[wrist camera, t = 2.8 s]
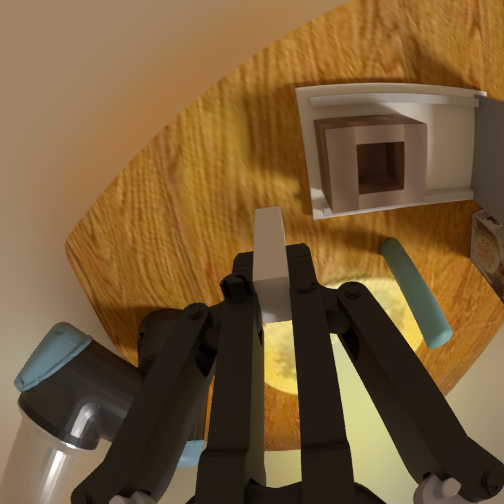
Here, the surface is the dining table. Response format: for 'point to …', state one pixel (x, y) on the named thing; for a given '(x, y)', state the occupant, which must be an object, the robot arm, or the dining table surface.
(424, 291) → the dowel
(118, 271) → the dining table surface
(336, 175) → the socket block
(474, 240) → the coffee box
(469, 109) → the slide base
